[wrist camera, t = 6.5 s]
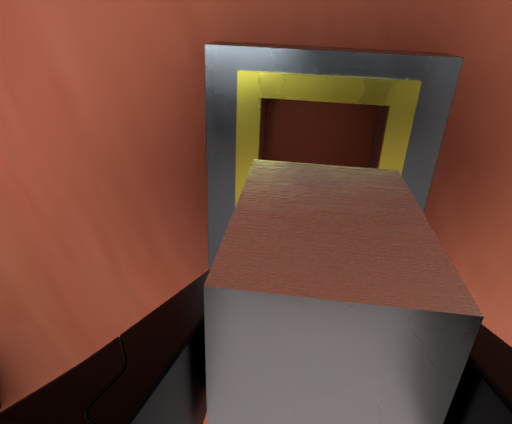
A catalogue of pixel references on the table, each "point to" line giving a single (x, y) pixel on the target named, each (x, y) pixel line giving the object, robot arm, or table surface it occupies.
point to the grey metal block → (333, 303)
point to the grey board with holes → (322, 90)
